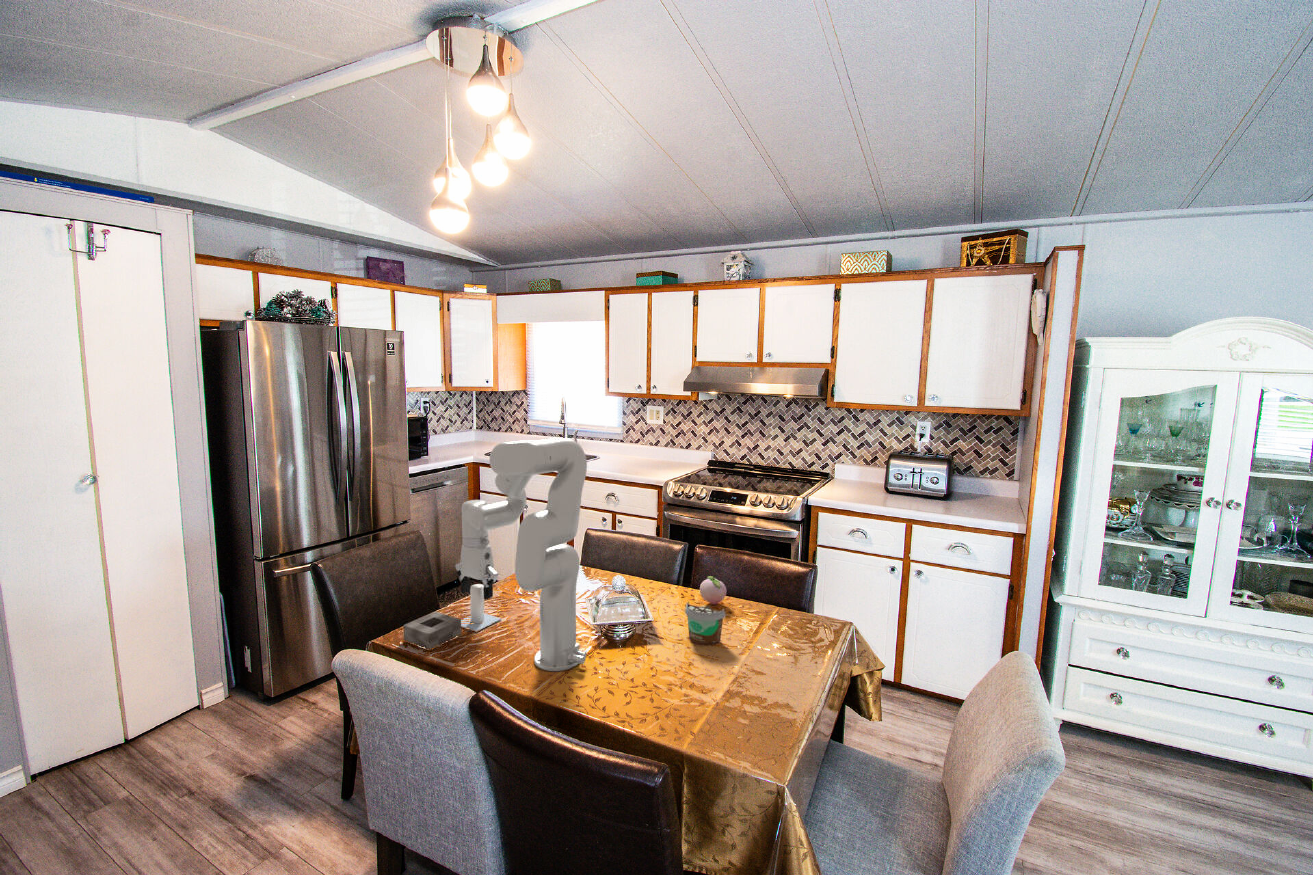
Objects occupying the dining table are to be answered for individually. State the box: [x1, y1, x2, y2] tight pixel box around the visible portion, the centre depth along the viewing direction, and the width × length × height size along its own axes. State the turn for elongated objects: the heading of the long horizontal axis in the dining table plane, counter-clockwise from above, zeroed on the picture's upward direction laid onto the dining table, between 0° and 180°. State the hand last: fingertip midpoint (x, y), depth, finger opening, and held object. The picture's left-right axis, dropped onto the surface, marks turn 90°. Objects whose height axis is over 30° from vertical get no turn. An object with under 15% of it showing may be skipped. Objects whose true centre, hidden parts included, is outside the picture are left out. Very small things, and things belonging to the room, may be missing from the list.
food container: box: [684, 601, 726, 647], centre depth 160 cm, size 12×6×10 cm, turn 62°
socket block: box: [402, 611, 462, 649], centre depth 161 cm, size 11×11×5 cm
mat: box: [461, 612, 502, 632], centre depth 171 cm, size 10×10×1 cm
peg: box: [469, 583, 485, 624], centre depth 171 cm, size 4×4×11 cm
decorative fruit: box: [699, 575, 727, 605], centre depth 186 cm, size 9×8×10 cm
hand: (476, 595), depth 171 cm, fingers open, 9 cm apart
